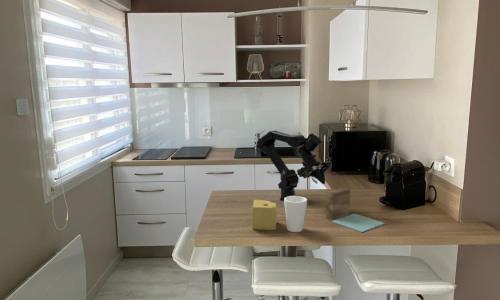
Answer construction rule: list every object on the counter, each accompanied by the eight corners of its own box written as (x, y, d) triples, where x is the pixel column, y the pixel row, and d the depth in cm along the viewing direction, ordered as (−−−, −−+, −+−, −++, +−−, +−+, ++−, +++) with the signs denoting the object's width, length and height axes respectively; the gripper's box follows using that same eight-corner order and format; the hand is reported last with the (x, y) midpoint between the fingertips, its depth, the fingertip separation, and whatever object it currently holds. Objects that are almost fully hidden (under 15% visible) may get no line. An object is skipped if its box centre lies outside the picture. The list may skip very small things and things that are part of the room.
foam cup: (292, 235, 159) (293, 204, 156) (279, 227, 166) (279, 198, 164) (310, 230, 164) (311, 200, 161) (296, 223, 171) (297, 194, 169)
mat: (331, 221, 174) (331, 220, 174) (354, 214, 184) (354, 213, 183) (362, 232, 161) (362, 231, 161) (384, 223, 171) (384, 223, 171)
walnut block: (326, 218, 179) (327, 192, 177) (343, 212, 186) (344, 188, 184) (332, 220, 176) (333, 194, 174) (349, 214, 183) (350, 189, 181)
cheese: (277, 221, 174) (277, 200, 172) (276, 231, 163) (276, 207, 162) (253, 221, 175) (253, 199, 173) (251, 230, 164) (251, 207, 163)
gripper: (311, 164, 203) (327, 189, 196) (285, 169, 191) (301, 196, 185) (324, 151, 195) (340, 177, 189) (297, 155, 184) (314, 183, 177)
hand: (324, 183), depth 185 cm, fingers closed
